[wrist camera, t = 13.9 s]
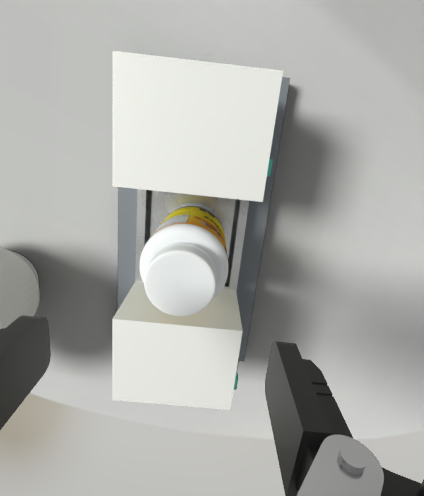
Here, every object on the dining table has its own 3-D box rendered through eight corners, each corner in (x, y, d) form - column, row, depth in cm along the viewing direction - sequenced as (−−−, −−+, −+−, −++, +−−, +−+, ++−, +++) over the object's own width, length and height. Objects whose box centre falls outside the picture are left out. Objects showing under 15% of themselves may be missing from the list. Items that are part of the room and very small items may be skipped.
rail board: (124, 63, 24) (119, 58, 22) (285, 82, 24) (290, 78, 23) (121, 341, 32) (117, 349, 30) (242, 352, 32) (243, 361, 31)
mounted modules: (143, 81, 22) (112, 50, 16) (266, 95, 22) (288, 71, 16) (135, 343, 29) (112, 399, 22) (229, 351, 29) (234, 410, 23)
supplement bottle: (233, 254, 26) (244, 314, 17) (174, 273, 27) (151, 341, 17) (212, 194, 25) (211, 221, 15) (150, 215, 25) (111, 255, 16)
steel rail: (144, 68, 23) (140, 63, 21) (263, 82, 23) (266, 78, 22) (136, 347, 30) (133, 355, 29) (225, 355, 30) (226, 364, 29)
